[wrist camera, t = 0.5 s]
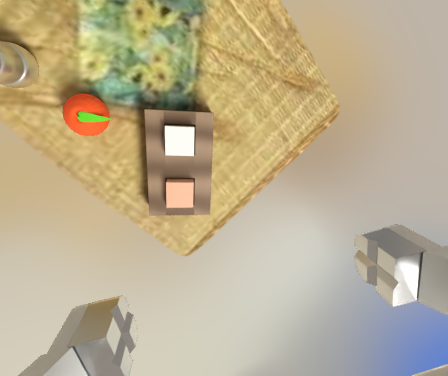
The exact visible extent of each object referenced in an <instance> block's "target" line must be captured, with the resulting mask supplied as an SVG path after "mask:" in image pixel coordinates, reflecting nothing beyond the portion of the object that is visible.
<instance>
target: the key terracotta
mask: <svg viewBox="0 0 448 376" xmlns="http://www.w3.org/2000/svg"><path fill="white" fill-rule="evenodd" d="M193 189H194V182H193V178H167V180H166V205H167V208H192V207H193Z"/></svg>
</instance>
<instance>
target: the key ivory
mask: <svg viewBox="0 0 448 376" xmlns="http://www.w3.org/2000/svg"><path fill="white" fill-rule="evenodd" d="M165 155H173V156H194V126H179V125H165Z"/></svg>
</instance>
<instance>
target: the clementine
mask: <svg viewBox="0 0 448 376" xmlns="http://www.w3.org/2000/svg"><path fill="white" fill-rule="evenodd" d="M63 117H64V120H65V122H66V124H67V125H68V126H69V127H70V128H71V129H72V130H73V131H74V132H76V133H78V134H80V135H84V136H95V135H98V134H100V133H102V132H103V131H104V130H105V129H106V128H107V126H108V124H109V120H113V119H110V116H109V111H108V109H107V107H106V106H105V104H104V103H103V102H102V101H101V100H100V99H98V98H97V97H95V96H93V95H90V94H77V95H73V96H72V97H70V98H69V99H68V100H67V101H66V102H65V104H64V107H63Z"/></svg>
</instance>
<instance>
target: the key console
mask: <svg viewBox="0 0 448 376" xmlns="http://www.w3.org/2000/svg"><path fill="white" fill-rule="evenodd" d="M144 110H145V132H146V153H147V175H148V197H149V216H159V215H210V200H211V174H212V148H213V121H214V113H212V112H193V111H174V110H155V109H144ZM165 125H179V126H194V156H173V155H165ZM167 178H193V182H194V189H193V207H192V208H167V205H166V180H167Z"/></svg>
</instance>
